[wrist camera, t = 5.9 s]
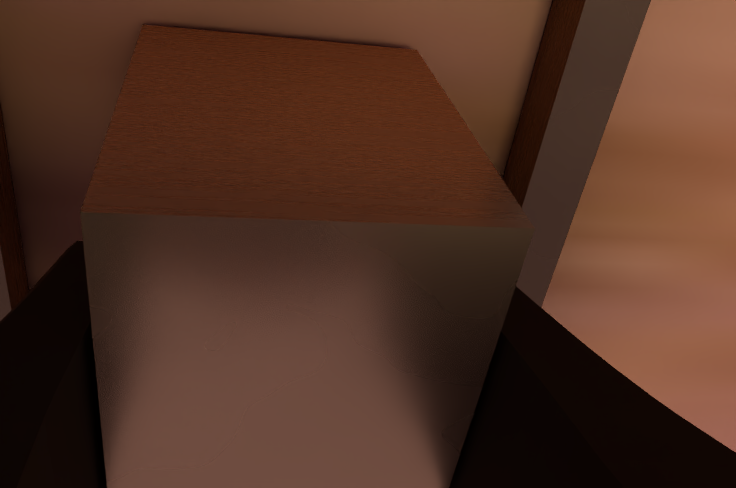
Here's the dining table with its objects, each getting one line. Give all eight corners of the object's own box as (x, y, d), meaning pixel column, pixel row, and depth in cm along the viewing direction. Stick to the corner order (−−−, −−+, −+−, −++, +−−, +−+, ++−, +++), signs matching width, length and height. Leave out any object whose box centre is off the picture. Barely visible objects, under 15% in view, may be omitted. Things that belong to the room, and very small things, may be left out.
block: (150, 257, 12) (109, 513, 8) (142, 24, 10) (81, 212, 6) (377, 262, 13) (446, 495, 9) (416, 50, 10) (535, 229, 6)
